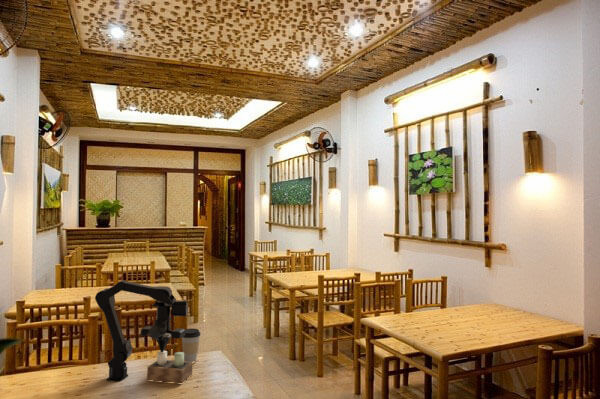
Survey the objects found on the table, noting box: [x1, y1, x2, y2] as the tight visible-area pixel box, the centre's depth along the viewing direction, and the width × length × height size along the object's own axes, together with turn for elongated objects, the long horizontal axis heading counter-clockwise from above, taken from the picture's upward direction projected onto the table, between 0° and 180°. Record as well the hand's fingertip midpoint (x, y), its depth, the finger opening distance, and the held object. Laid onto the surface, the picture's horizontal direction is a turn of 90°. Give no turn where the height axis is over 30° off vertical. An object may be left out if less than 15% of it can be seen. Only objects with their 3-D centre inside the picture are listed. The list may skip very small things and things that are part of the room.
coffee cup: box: [181, 328, 202, 362], centre depth 199 cm, size 9×9×15 cm
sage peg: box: [173, 351, 184, 367], centre depth 179 cm, size 4×4×6 cm
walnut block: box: [146, 359, 193, 384], centre depth 180 cm, size 16×10×6 cm, turn 80°
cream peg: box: [156, 350, 168, 366], centre depth 180 cm, size 4×4×6 cm
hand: (162, 351), depth 180 cm, fingers closed
